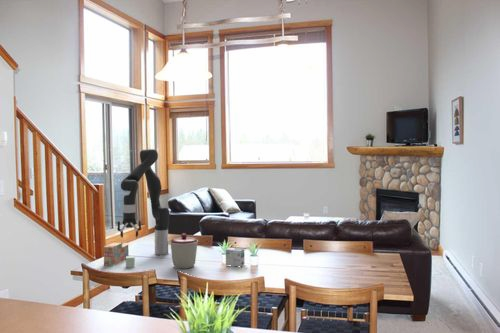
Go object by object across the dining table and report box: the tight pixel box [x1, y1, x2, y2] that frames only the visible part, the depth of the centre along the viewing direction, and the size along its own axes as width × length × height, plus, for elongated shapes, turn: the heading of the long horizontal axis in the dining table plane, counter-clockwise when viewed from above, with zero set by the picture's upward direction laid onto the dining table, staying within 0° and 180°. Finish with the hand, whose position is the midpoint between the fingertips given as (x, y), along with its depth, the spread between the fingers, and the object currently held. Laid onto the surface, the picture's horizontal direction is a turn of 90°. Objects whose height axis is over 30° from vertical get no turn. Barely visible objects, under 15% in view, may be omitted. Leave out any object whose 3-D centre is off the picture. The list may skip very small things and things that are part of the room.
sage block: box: [125, 255, 136, 268], centre depth 270 cm, size 5×5×6 cm
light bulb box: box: [225, 247, 246, 268], centre depth 273 cm, size 11×7×11 cm, turn 71°
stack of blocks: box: [103, 242, 130, 267], centre depth 281 cm, size 21×6×12 cm, turn 169°
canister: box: [168, 232, 199, 270], centre depth 269 cm, size 18×18×21 cm
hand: (129, 237), depth 269 cm, fingers open, 8 cm apart
